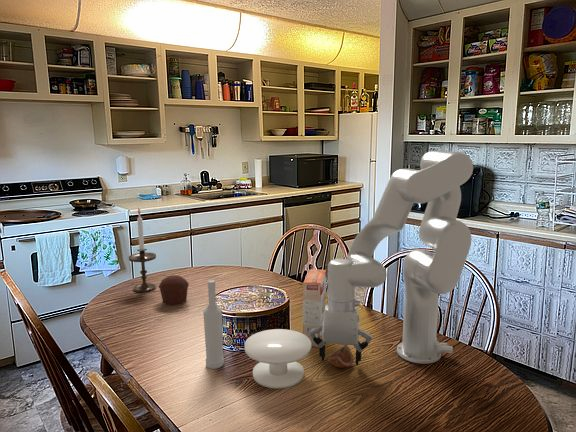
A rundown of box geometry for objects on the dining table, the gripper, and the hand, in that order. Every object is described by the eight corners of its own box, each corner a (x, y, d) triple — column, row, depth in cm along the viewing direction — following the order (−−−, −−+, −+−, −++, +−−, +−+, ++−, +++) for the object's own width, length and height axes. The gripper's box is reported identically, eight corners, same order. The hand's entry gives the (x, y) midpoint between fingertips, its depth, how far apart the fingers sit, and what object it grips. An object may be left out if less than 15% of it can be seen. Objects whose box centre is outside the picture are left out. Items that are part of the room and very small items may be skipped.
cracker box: (321, 348, 137) (321, 283, 133) (301, 346, 138) (301, 282, 134) (326, 328, 150) (327, 269, 146) (308, 327, 152) (309, 268, 148)
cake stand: (316, 361, 129) (316, 332, 128) (304, 397, 112) (304, 364, 110) (256, 354, 133) (256, 326, 132) (236, 388, 116) (235, 356, 114)
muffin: (195, 299, 177) (194, 275, 175) (175, 309, 168) (173, 283, 166) (174, 293, 183) (173, 270, 182) (153, 302, 174) (151, 278, 172)
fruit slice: (345, 376, 122) (346, 359, 121) (323, 370, 125) (323, 353, 124) (356, 362, 129) (356, 346, 128) (334, 356, 132) (334, 341, 131)
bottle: (208, 371, 125) (205, 285, 120) (203, 362, 129) (199, 280, 124) (226, 366, 127) (223, 282, 122) (220, 358, 131) (217, 277, 127)
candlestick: (153, 293, 184) (147, 209, 178) (127, 293, 184) (120, 209, 178) (161, 284, 195) (156, 205, 188) (136, 284, 195) (130, 205, 188)
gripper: (373, 301, 125) (371, 357, 128) (312, 296, 129) (312, 351, 132) (372, 311, 118) (370, 371, 121) (307, 306, 122) (307, 364, 125)
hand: (340, 360), depth 127 cm, fingers open, 9 cm apart
